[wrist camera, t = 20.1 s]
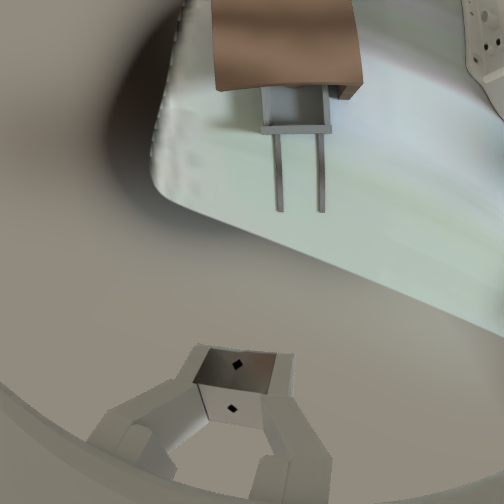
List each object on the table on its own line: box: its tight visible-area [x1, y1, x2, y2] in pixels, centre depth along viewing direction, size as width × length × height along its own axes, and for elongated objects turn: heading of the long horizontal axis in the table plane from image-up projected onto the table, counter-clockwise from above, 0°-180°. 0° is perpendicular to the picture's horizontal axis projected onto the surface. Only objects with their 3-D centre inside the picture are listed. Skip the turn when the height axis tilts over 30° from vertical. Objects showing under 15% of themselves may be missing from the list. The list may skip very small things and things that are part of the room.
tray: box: [261, 85, 332, 135], centre depth 25 cm, size 12×7×4 cm, turn 4°
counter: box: [211, 0, 363, 213], centre depth 24 cm, size 26×12×10 cm, turn 4°
